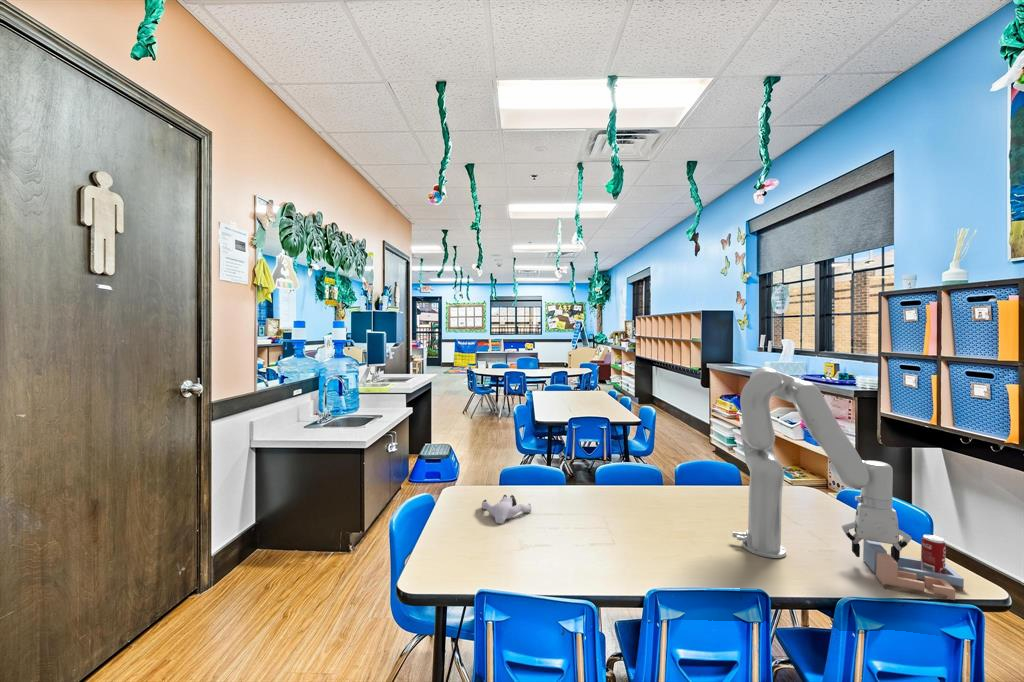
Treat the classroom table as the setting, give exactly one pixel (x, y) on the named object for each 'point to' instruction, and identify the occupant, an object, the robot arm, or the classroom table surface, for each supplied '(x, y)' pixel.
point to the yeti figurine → (505, 508)
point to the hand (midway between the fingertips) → (875, 558)
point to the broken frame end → (940, 587)
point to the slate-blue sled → (908, 565)
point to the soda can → (933, 554)
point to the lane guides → (921, 591)
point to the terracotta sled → (896, 574)
